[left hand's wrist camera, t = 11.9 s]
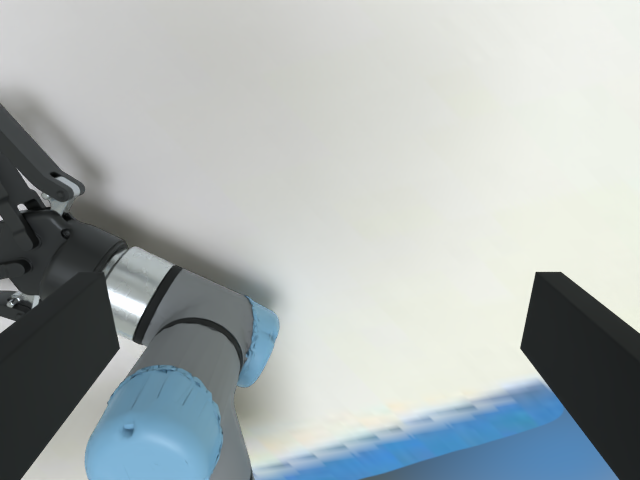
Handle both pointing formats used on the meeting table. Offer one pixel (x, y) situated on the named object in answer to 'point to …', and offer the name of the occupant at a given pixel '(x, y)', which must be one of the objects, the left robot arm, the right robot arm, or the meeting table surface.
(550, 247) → the meeting table surface
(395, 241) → the meeting table surface
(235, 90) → the meeting table surface
